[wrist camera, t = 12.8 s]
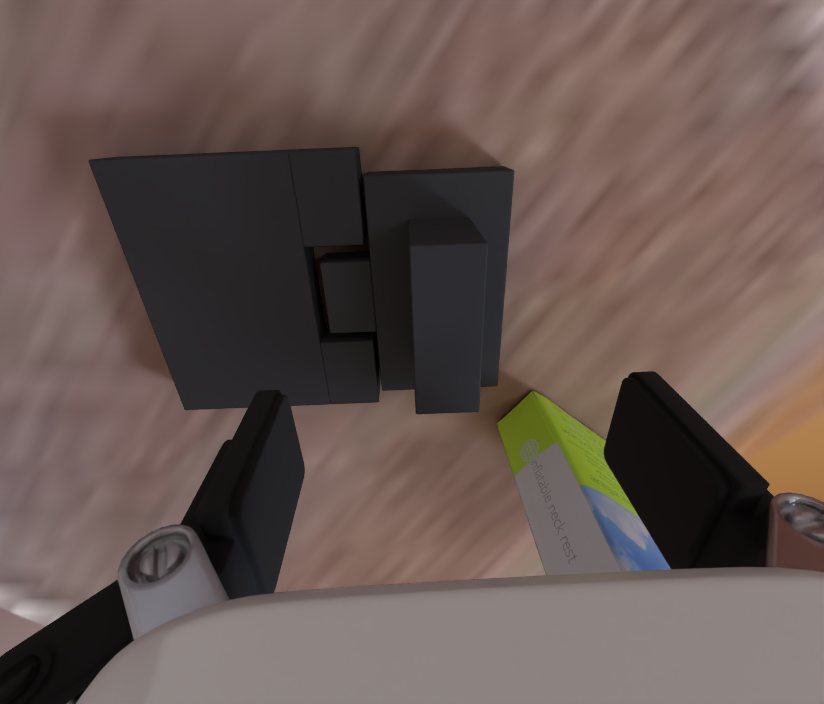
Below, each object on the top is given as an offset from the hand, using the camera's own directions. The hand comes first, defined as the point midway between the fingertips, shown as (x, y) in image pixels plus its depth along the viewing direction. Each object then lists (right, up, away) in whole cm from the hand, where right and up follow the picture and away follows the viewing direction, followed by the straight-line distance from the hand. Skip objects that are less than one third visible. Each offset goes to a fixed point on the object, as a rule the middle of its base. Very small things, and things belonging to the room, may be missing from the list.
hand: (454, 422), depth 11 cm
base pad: (-10, +6, +12) cm, 16 cm away
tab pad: (-1, +6, +12) cm, 13 cm away
